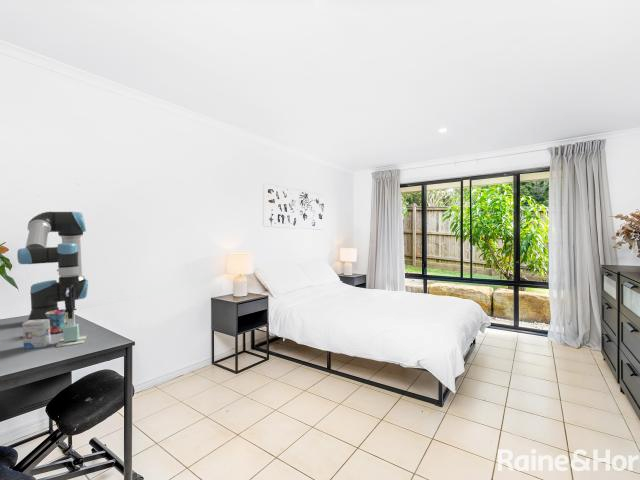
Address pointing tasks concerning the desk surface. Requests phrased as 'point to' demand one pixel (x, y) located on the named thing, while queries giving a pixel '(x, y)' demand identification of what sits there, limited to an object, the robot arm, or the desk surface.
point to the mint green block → (71, 332)
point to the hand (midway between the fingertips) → (71, 324)
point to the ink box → (36, 333)
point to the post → (79, 341)
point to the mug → (57, 320)
